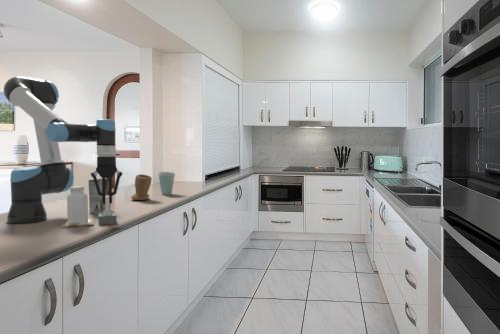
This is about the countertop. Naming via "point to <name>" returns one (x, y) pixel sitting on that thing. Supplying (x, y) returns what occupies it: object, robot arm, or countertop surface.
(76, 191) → the pill bottle
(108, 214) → the button
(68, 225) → the clipboard
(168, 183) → the disposable coffee cup
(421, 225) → the countertop surface
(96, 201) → the coffee box
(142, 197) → the stone cup
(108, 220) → the button housing
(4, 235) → the countertop surface
